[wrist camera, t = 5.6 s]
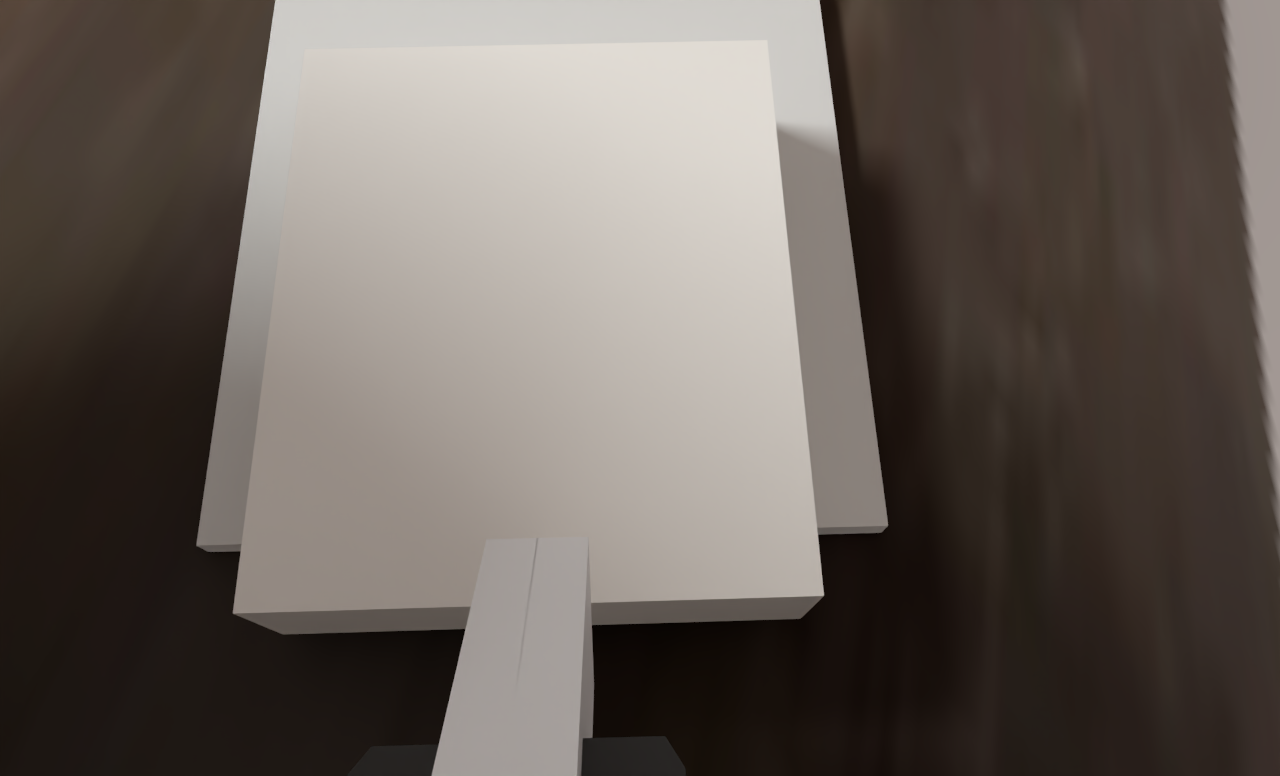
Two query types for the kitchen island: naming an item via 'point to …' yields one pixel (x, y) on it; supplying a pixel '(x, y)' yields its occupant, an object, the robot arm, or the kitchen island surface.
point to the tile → (531, 339)
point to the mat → (580, 14)
